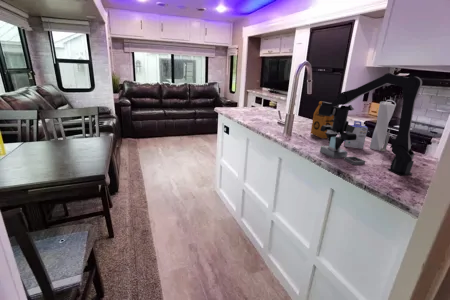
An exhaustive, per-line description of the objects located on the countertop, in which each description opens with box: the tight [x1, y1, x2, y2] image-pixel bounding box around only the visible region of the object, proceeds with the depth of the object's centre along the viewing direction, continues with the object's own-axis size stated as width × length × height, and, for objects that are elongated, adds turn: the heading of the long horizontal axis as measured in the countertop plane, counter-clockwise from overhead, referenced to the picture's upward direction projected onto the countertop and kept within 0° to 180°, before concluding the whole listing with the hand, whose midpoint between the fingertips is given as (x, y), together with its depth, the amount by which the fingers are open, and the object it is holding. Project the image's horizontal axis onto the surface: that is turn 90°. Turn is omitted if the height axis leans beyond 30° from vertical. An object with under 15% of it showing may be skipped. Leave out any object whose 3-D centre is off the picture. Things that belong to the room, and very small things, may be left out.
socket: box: [319, 145, 348, 159], centre depth 120 cm, size 10×8×3 cm
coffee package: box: [310, 100, 335, 139], centre depth 149 cm, size 10×12×22 cm
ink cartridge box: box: [342, 120, 369, 150], centre depth 133 cm, size 10×6×14 cm, turn 72°
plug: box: [328, 136, 341, 151], centre depth 119 cm, size 4×4×8 cm
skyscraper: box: [369, 99, 397, 152], centre depth 128 cm, size 8×8×28 cm
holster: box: [343, 155, 366, 166], centre depth 111 cm, size 6×6×2 cm
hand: (334, 148), depth 119 cm, fingers closed on plug, 3 cm apart
